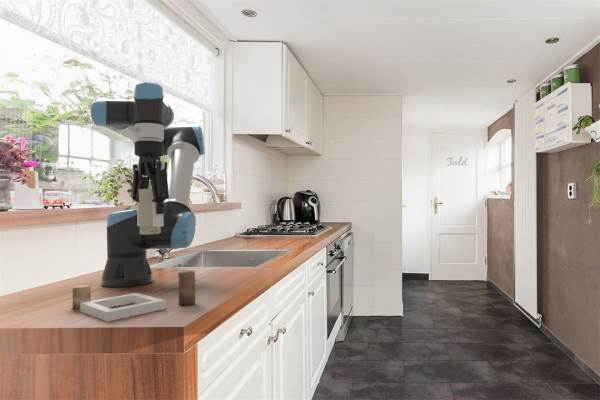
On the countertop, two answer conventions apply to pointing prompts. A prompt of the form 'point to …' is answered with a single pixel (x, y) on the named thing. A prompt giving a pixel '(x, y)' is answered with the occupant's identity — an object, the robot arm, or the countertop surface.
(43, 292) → the countertop surface
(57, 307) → the countertop surface
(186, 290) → the mid walnut dowel
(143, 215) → the skincare box
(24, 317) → the countertop surface
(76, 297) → the short oak dowel
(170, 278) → the countertop surface
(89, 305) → the white square frame
